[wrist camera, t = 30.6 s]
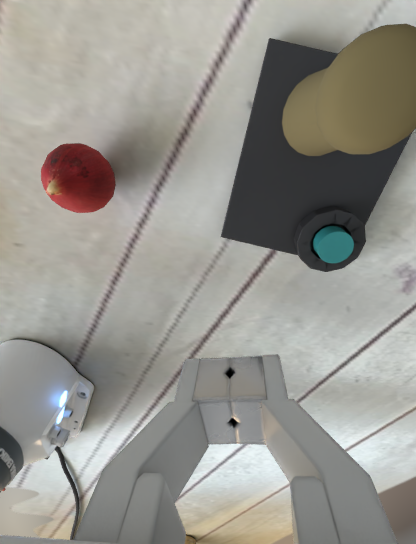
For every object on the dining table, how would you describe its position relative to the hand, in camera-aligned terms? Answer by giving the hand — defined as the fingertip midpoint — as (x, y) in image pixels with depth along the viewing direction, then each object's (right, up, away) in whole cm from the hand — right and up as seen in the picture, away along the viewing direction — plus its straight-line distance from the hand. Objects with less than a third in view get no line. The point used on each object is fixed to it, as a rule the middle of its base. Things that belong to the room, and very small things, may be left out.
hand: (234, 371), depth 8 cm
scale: (+9, +13, +16) cm, 22 cm away
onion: (-12, +13, +18) cm, 25 cm away
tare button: (+11, +6, +16) cm, 20 cm away
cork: (+8, +16, +13) cm, 22 cm away
